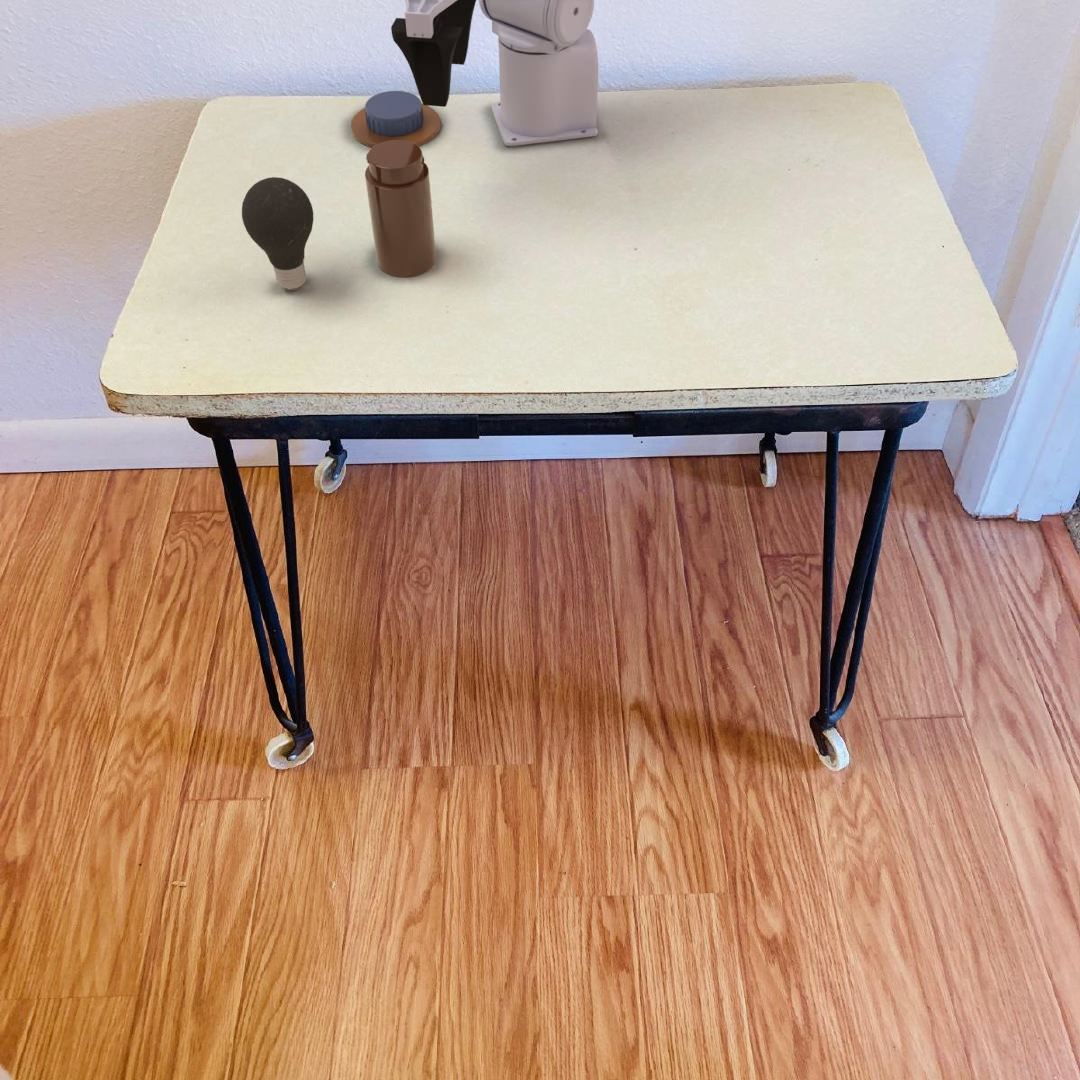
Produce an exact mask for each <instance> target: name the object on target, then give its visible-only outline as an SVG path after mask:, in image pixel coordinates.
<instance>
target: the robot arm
mask: <svg viewBox="0 0 1080 1080" xmlns="http://www.w3.org/2000/svg"><path fill="white" fill-rule="evenodd" d="M404 2H405V3H404V4H405V6H406V9H405V12H404V18H403V17H396V18H395V19H394V21H393V23H392V24H391V27H390V30H391V31H390V32H391V37H392V41H393V42H394V43H395V44H396V46H397V47H398V48H399V50H400V52H401V53H402V54H403V56H404V58H405V60H406V62H407V64H408V67H409V69H410V71H411V73H412V77H413V79H414V82H415V85H416V89H417V91H418V94H419V99H420V101H421V103H422V104H423V105H427V106H429V107H442V108H445V107H447V105H448V102H449V98H450V91H451V82H452V66H453V65H459V66H460V65H461V66H462V65H465V63H466V60H467V56H468V50H469V43H470V35H471V28H472V21H473V15H474V12H475V6H476V2H477V0H404ZM478 3H479V8H480V11H481V12H482V14H483V15H484V17H486V18H487V19H489V20H490V21H491V32H492V33H493V34H495V35H497V37H498V38H497V39H498V41H497V42H498V69H499V71H498V72H499V101H498V102H493V103H492V104H490V110H491V112H492V114H493V117H494V120H495V122H496V125H497V128H498V130H499V133H500V136H501V139H502V142H503V144H504V145H505V146H507V147H514V146H524V145H530V144H539V143H549V142H557V141H566V140H567V141H568V140H573V139H583V138H591V137H597V136H598V134H599V130H598V127H597V118H598V117H597V116H598V113H597V112H598V95H599V93H598V92H599V55H598V49H597V43H596V39H595V36H594V34H593V32H592V30H591V29H588V27H589V25H590V23H591V20H592V18H593V14H594V7H595V0H478Z"/></svg>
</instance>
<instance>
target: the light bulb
mask: <svg viewBox="0 0 1080 1080" xmlns="http://www.w3.org/2000/svg"><path fill="white" fill-rule="evenodd" d="M241 219H242V224H243V226H244V228H245V231H246V232H247V234H248V236H249V238H251V240H252V241H253V242H254V243H255V244H256V245H257V246H258V247H259V248H260V249H261V250H262V251H263V252H264V253H265V254H266V256H267V258H268V261H269V262H270V264H271V265H272V267H273V271H274V276H275V279H276V281H277V284H278V285H279V286H280V287H282V288H283V289H287V290H289V291H297V290H298V289H299V288H300V287H301V286H303V285H304V284H305V283H306V280H307V273H306V267H305V262H304V261H305V248H306V244H307V242H308V240H309V238H310V236H311V233H312V230H313V224H314V209H313V205H312V202H311V200H310V198H309V196H308V195H307V193H306V192H305V191H304V190H303V188H302V187H300V186H299V185H298V184H297V183H295V182H294V181H292V180H289V179H287V178H284V177H278V176H277V177H276V176H273V177H272V176H271V177H266V178H263V179H261V180H259V181H257V182H255V183H254V184H252V186H251V187H250V188H249V189H248V190H247V192H246V193H245V196H244V198H243V200H242V203H241Z"/></svg>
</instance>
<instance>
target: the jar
mask: <svg viewBox="0 0 1080 1080" xmlns="http://www.w3.org/2000/svg"><path fill="white" fill-rule="evenodd" d="M365 160H366V162H367V164H368V165H367V167H366V169H365V171H364V178H365V185H366V193H367V199H368V207H369V214H370V222H371V228H372V235H373V244H374V250H375V257H376V263H377V267H378V268H379V269H380V270H381V271H382V272H383V273H385V274H387V275H390V276H393V277H397V278H411V277H417V276H420V275H422V274H425V273H427V272H428V271H430V270H431V269H432V268H433V267H434V266H435V264H436V262H437V249H436V248H437V247H436V238H435V226H434V215H433V214H434V213H433V204H432V203H433V202H432V192H431V180H430V170H429V167H428V164H427V163H425V157H424V154H423V151H422V149H421V148H420V146H417V145H416V144H414V143H412V142H409V141H404V140H390V141H385V142H382V143H379V144H377V145H375V146H374V147H370V149H369V150H368V152H367V153H366V157H365Z"/></svg>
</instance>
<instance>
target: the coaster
mask: <svg viewBox="0 0 1080 1080" xmlns="http://www.w3.org/2000/svg"><path fill="white" fill-rule="evenodd" d="M421 105H422V108H423V119H424V121H423V122H422V125H421V126H420V127H419V128H418V129H417V130H416V131H414V132H412V133H409V134H406V135H401V136H385V135H380V134H377V133H375V132H373V131H372V130H371V129H369V127H368V125H367V121H366V114H365V107H364V108H362V109H361V110H359V111H358V112H357V113H356V114H355V115H354V116H353V117H352V119H351V121H350V130H351V134H352V136H353V138H354V139H355V140H356V141H358V142H359V143H360V144H362V145H364V146H366V147H369V148H372V147H374V146H375V145H377V144H379V143H382V142H385V141H390V140H404V141H409V142H412V143H414V144H416V145H417V146H419V147H420V146H422V145H424V144H426V143H428V142H430V141H431V140H433V139H434V138H435V137H436V136H437V135H438V133H439V132H440V130H441V126H442V125H441V117H440V115H439V113H438V112H437V111H436V110H435V109H434V108H432V106H428V105H423V103H422V102H421Z"/></svg>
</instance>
